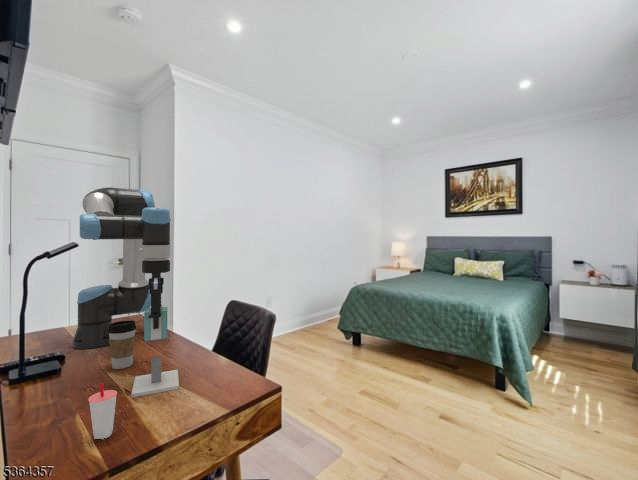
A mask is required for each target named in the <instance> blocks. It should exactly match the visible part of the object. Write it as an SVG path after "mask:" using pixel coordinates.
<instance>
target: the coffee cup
mask: <svg viewBox="0 0 638 480" xmlns="http://www.w3.org/2000/svg"><path fill="white" fill-rule="evenodd" d="M136 330H137V325H136V321H135V320H122V321H121V320H120V321H115V322H112V323H111V324H110V325H109V329H108V333H109V352H110V358H111V367H112V369H113V370H122V369H127V368H130V367H131V366H132V365H133V363H134V362H133V361H134V359H133V358H134V349H135V340H136Z"/></svg>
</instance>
